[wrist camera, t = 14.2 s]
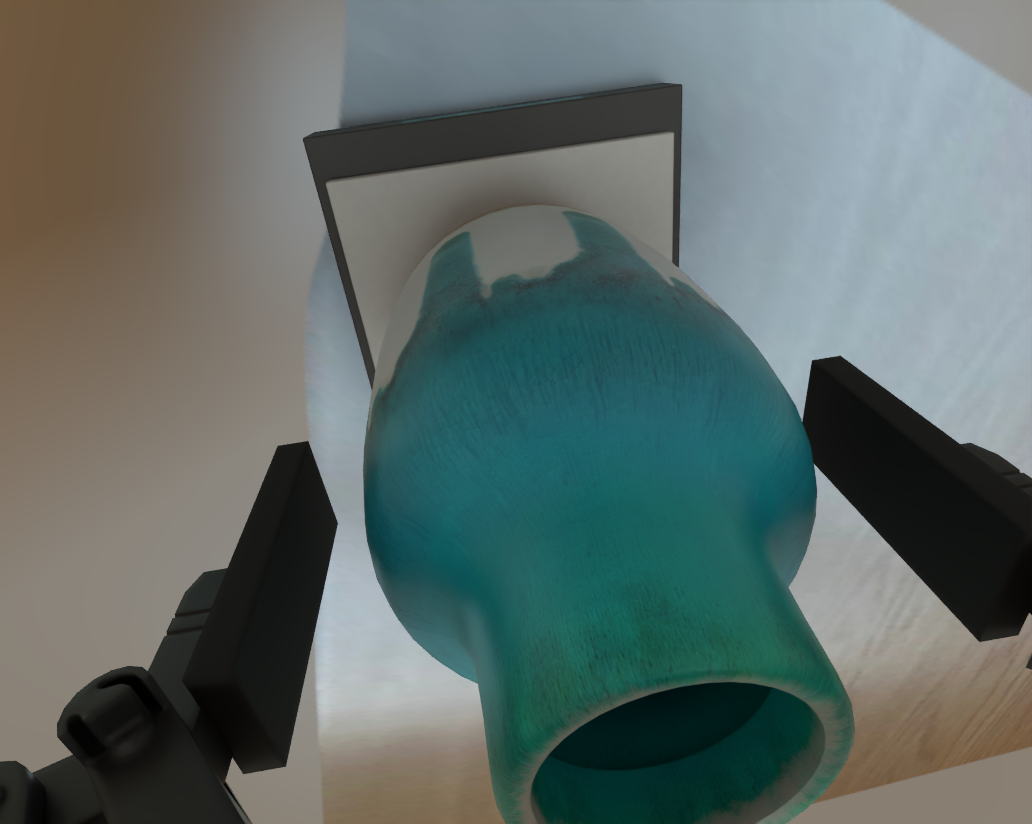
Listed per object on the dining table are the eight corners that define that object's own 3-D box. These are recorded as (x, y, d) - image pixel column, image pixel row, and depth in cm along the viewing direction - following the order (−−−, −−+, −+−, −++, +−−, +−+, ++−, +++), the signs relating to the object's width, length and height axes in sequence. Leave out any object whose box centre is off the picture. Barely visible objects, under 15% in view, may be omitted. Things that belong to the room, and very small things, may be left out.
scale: (313, 132, 23) (298, 139, 21) (663, 82, 24) (689, 84, 21) (397, 448, 31) (393, 480, 29) (661, 405, 32) (680, 433, 29)
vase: (664, 378, 27) (1004, 848, 11) (445, 449, 28) (456, 997, 12) (616, 136, 22) (1145, 346, 6) (347, 230, 23) (104, 669, 6)
